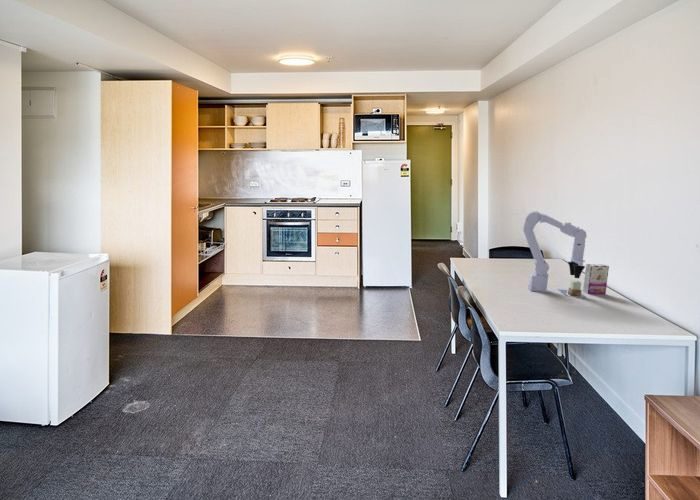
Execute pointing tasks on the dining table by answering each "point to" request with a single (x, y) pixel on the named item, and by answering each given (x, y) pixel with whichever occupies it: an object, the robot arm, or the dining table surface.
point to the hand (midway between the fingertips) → (574, 276)
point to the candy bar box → (595, 278)
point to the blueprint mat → (568, 294)
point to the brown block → (574, 292)
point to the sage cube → (575, 285)
